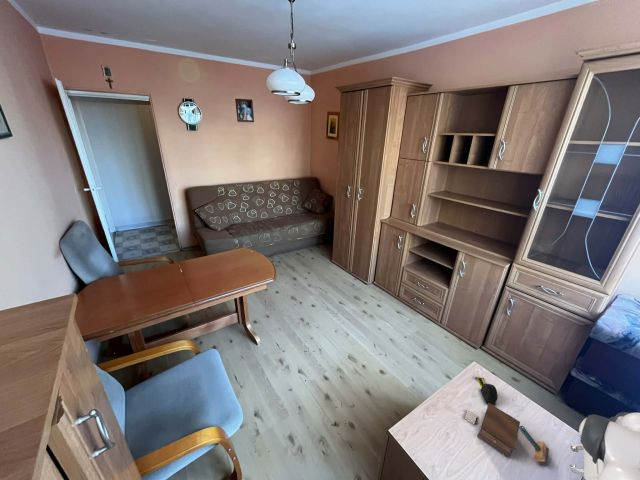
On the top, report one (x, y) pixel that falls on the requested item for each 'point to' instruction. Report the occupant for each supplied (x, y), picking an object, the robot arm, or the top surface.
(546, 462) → the brush
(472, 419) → the felt pad
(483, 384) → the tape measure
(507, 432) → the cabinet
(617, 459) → the robot arm
